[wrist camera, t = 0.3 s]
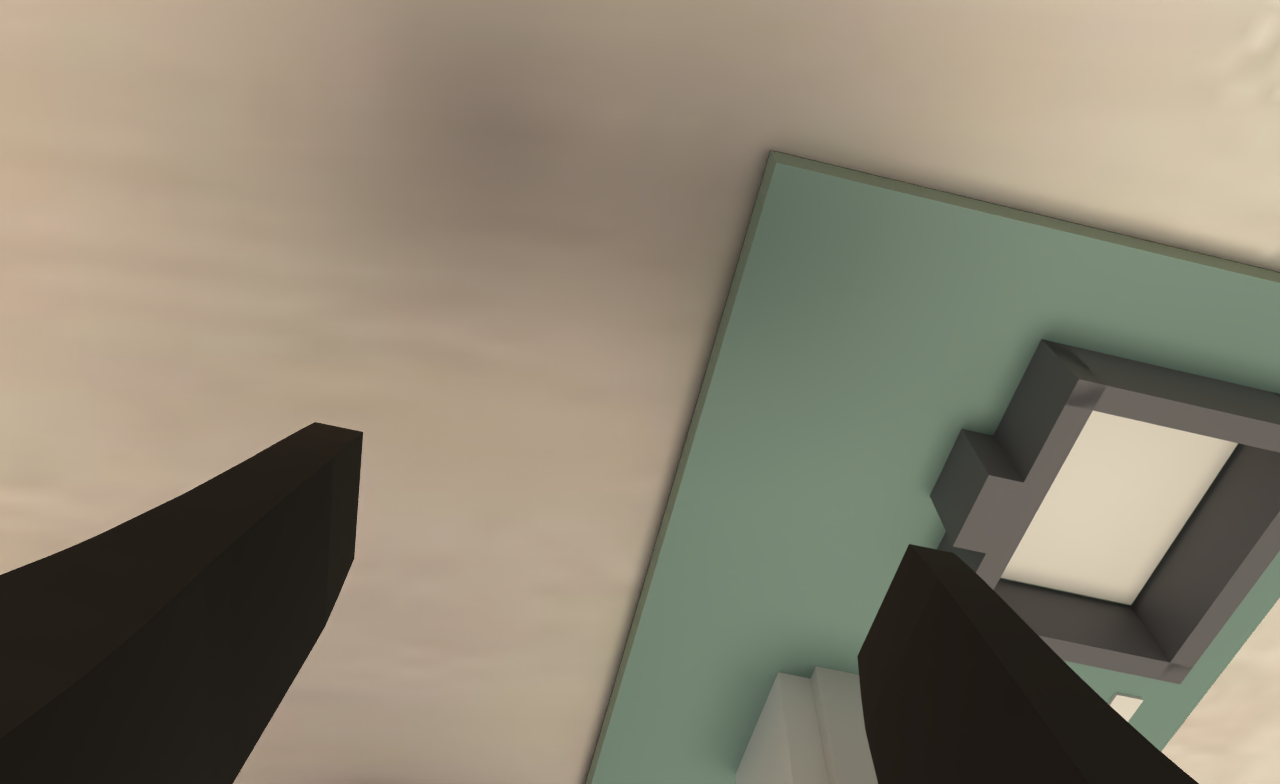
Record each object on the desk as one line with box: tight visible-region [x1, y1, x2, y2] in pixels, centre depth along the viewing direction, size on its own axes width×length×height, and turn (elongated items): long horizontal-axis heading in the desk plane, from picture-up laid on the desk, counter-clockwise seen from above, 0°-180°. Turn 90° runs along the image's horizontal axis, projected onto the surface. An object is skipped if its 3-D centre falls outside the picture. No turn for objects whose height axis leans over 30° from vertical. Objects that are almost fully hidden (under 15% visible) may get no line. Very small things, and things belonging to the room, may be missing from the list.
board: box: [585, 151, 1280, 784], centre depth 22 cm, size 22×16×3 cm
